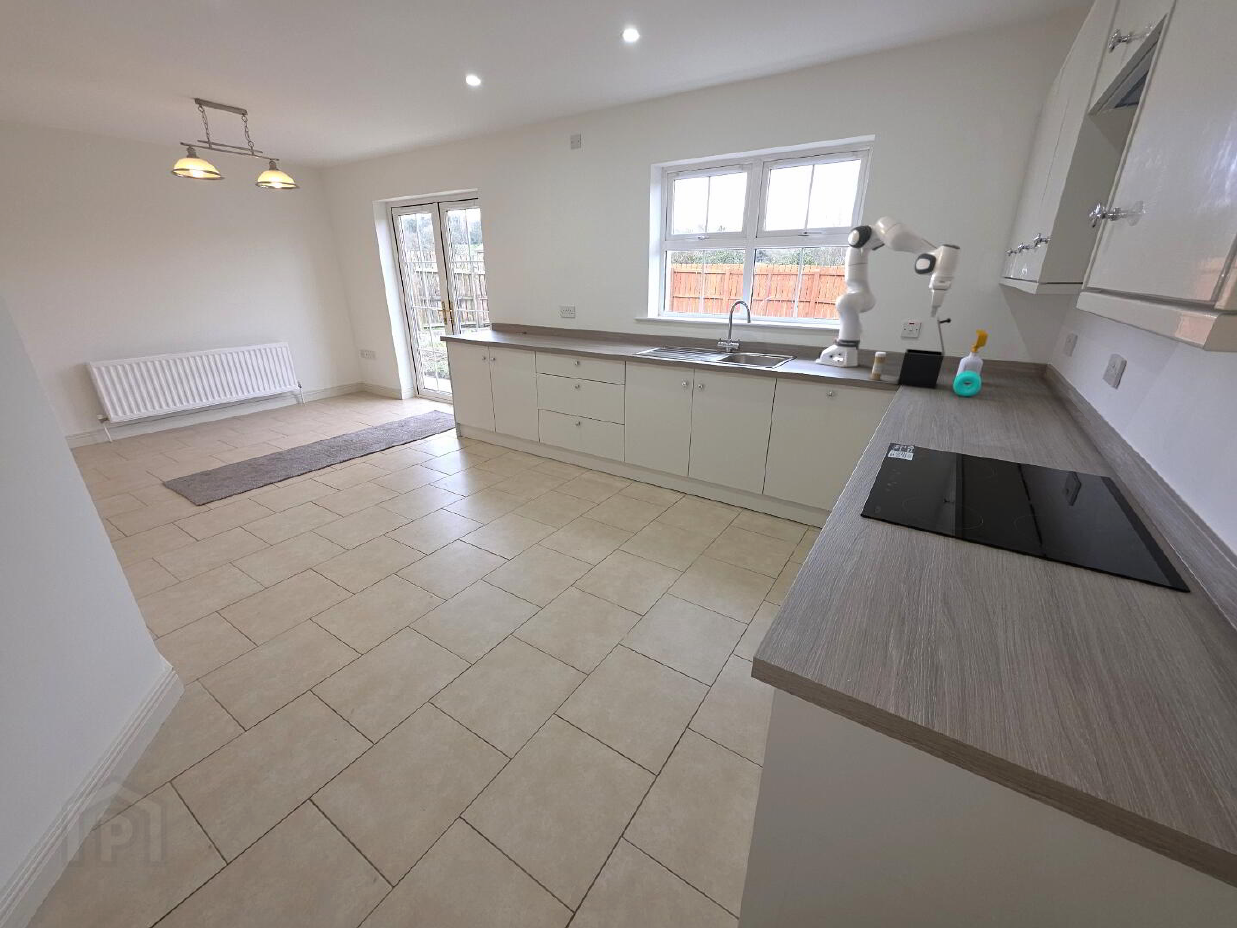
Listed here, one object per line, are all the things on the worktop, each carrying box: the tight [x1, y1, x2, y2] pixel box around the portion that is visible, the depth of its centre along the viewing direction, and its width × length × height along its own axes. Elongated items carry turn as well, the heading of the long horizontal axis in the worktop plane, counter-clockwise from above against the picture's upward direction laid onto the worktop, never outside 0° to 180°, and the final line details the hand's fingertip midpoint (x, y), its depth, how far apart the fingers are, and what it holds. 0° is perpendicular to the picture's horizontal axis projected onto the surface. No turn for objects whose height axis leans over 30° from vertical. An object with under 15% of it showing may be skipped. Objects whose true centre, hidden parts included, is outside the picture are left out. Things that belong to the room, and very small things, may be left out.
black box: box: [897, 348, 945, 390], centre depth 232 cm, size 16×13×15 cm
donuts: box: [952, 371, 982, 397], centre depth 215 cm, size 10×10×10 cm
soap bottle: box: [955, 329, 989, 384], centre depth 235 cm, size 9×9×25 cm
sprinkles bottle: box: [870, 351, 887, 381], centre depth 241 cm, size 5×5×13 cm
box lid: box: [936, 316, 952, 356], centre depth 222 cm, size 16×13×5 cm
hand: (932, 316), depth 223 cm, fingers open, 8 cm apart
